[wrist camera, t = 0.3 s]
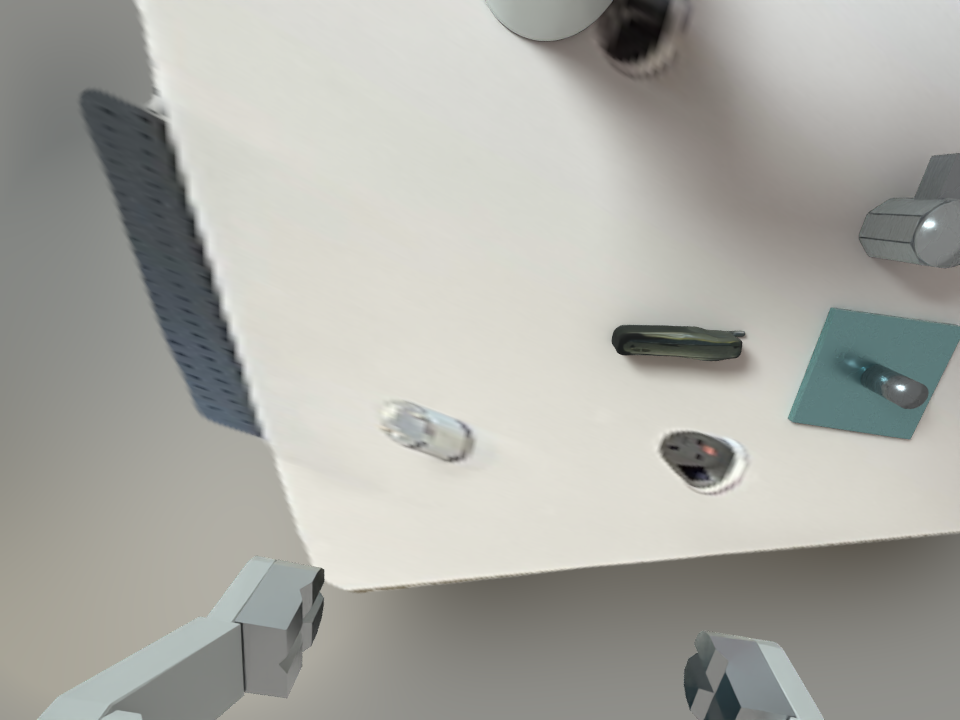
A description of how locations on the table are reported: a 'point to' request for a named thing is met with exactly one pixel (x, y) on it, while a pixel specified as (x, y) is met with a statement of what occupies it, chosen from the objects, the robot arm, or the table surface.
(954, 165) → the tabbed metal cylinder
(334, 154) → the table surface
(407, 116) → the table surface
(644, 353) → the mobile phone
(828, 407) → the flat teal square plate
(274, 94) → the table surface
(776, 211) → the table surface
